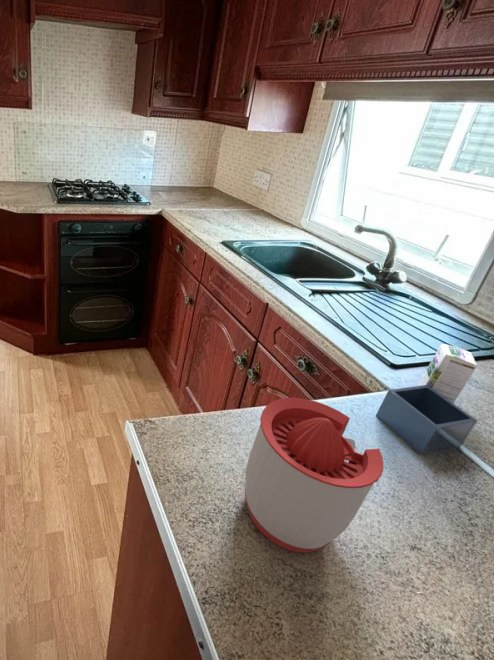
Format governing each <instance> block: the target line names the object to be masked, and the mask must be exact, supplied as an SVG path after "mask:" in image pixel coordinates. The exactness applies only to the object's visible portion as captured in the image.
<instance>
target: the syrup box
mask: <svg viewBox="0 0 494 660" xmlns="http://www.w3.org/2000/svg"><path fill="white" fill-rule="evenodd" d="M475 359H476V358H475V357H474V354H473V353H472V352H470V351H468V350H466V349H463V348H460V347H457V346H453V345H450V344H445V343H441V344H440V345H439V347H438V348H437V351H436V353H435V354H434V356H433V358H432V359H431V360H430V362H429V364H428V366H427V368H426V370H425V371H424V373H423V375H422V377H421V378H420V380H419V381H418V383H417V385H416V386H421V385H428V386H429V387H431V388H432V389H434V390H435V391H436V392H438V393H439V394H441V395H442V396H444V397H445V398H446V399H448V400H449V401H451V402H452V403H453V404H455V402H456V400H457V399H458V397H459V396H460V394H461V392H462V391H463V389H464V388H465V387H466V385H467V383H468V382H469V380H470V378H471V377H472V376H473V374H474V372H475V370H476V369H477V367H478V363H477V361H476V360H475Z"/></svg>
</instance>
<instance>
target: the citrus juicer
mask: <svg viewBox="0 0 494 660" xmlns="http://www.w3.org/2000/svg"><path fill="white" fill-rule="evenodd" d="M259 418H260V423H259V427H258V430H257V433H256V436H255V439H254V441H253V443H252V446H251V450H250V452H249V457H248V460H247V464H246V466H245V477H244V481H245V482H244V498H245V502H246V506H247V507H246V508H247V510H248V511H247V512H248V514H249V516H250V519H251V520H252V522H253V524H254V525H255V527H256V528H257V530H259V531H260V533H261V534H262V535H263V536H264V537H266V539H268V540H269V541H271V542H272V543H273V544H275V545H276V546H278V547H281V548H283V550H284V549H285V550H287V551H291V552H295V553H299V554H302V553H310V552H314V551H317V550H320V549H323V548H325V547H326V546H328V545H329V544H330V543H331V542H332V541H334V540H335V539H337V538H338V537H340V536H341V534H343V533H344V532H345V531H346V529H348V527H349V525H350V524H351V523H352V521H353V520H354V519H355V517H356V515H357V514H358V512H359V510H360V508H361V507H362V505H363V503H364V501H365V500H366V497H368V494H369V492H370V491H371V489H372V487H373V485H374V484H375V483H376V482H378V481H379V479H380V478H381V477H382V475H383V471H384V467H385V466H384V457H383V455H382V452H381V450H380V448H369V449H367V448H366V449H365V450H364V452H361V451H360V449H359V448H358V447H357V446H356V441H355V440H354V439H353V438H351V437H350V438H349V437H344V436H343V435H344V434H345V431H346V428H347V426H348V424H349V421H350V419H351V417H349V416H348V415H347V414H344V413H343V412H341V411H340V410H338V409H335V408H333V407H332V406H329V405H327V404H325V403H322V402H320V401H316V400H311V399H308V398H302V397H283V398H279V399H276V400H273V401H271V402H270V403H268V404H267V405H266V406H265V408H264V409H263V410H262V411H261V414H260V417H259Z"/></svg>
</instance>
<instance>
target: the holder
mask: <svg viewBox="0 0 494 660" xmlns="http://www.w3.org/2000/svg"><path fill="white" fill-rule="evenodd" d="M375 417H377V418H378V419H379V420H380V421H381V422H382V423H384V424H385V426H387V427H388V428H389V429H390V430H391V431H392V432H394V433H395V434H396V435H397V436H399V438H400V439H402V440H403V441H404V442H405V443H406V444H407V445H408V446H409V447H410V448H412V449H413V450H414V451H415V452H416V453H417V454H418V455H420V456H424V455H428V454H429V455H430V454H433V453H439V452H443V451H448V450H452V449H453V450H454V449H458V448H461V447H462V445H463V444H464V442H465V441H466V439H467V438H468V436H469V435H470V433H471V432H472V430H474V427H475V426H476V424H477V423H478V420H477V419H476V418H475V417H473V416H472V415H470V414H469V413H468V412H467V411H464V410H463V409H462V408H461V407H459V406H458V405H457V404H455V403H452V402H451V401H449V400H448V399H446V398H445V397H444V396H442V395H441V394H439V393H438V392H436V391H435V390H434V389H432V388H431V387H429V386H428V385H421V386H417V385H414V386H408V387H400V388H392V389H388V391H387V393H386V394H385V396H384V398H383V401H382V402H381V404H380V406H379V408H378V410H377V412H376V414H375Z"/></svg>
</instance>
